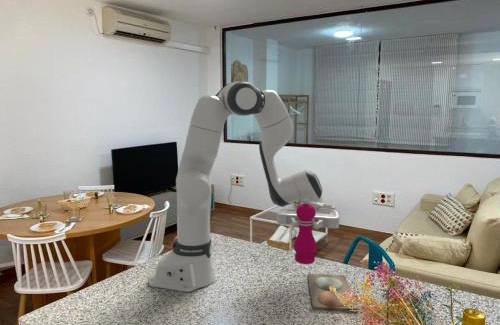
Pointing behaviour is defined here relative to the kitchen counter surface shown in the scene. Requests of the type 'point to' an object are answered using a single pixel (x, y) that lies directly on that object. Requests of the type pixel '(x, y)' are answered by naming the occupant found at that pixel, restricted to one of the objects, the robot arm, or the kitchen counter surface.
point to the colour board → (327, 291)
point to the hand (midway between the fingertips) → (305, 226)
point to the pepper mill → (305, 234)
